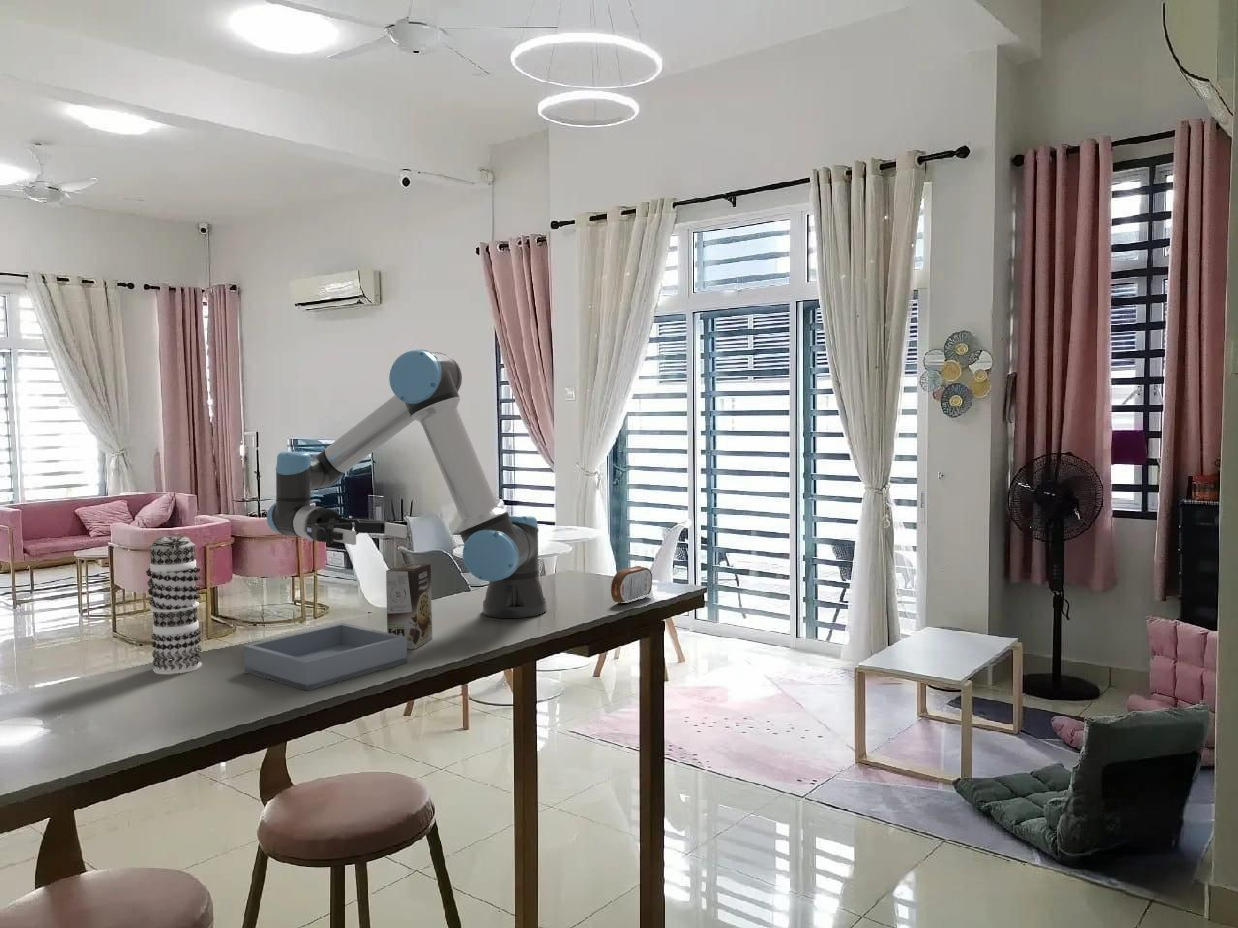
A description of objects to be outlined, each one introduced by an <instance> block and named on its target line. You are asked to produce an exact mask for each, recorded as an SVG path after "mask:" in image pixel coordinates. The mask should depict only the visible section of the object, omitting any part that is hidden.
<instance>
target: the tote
mask: <svg viewBox="0 0 1238 928" xmlns="http://www.w3.org/2000/svg"><path fill="white" fill-rule="evenodd" d="M242 646H243V647H242V648H243V672H244V673H246V672H247V673H246V674H249V675H252V674H253V676H256V677H259V678H262V679H266V678H268V679H267V680H269V679H271V680H270V681H272V680H275V681H278V682H277V683H279V682H281V683H280V684H282V683H284V684H283V685H285V684H287V686H289V687H291V688H292V687H293V688H295V687H296V689H299V690H303V691H304V692H305V691H306V692H308V691H313V690H315V689H318V688H319V689H320V688H323V687H326V686H330V685H333V684H336V682H337V683H340V682H344V681H347V680H351V679H354V678H357V677H361V676H364V675H368V674H371V673H375V672H378V671H381V670H386V669H389V668H392V667H393V668H394V667H396V666H397V667H398V666H401V665H403V664H407V663H408V652H407V651H408V649H407V641H406V637H404V636H400V635H395V634H391V633H387V632H385V631H381V630H376V629H372V628H368V627H367V628H366V627H362V626H357V625H354V624H353V625H352V624H350V623H349V624H348V623H344V622H342V623H341V622H340V623H337V624H333V625H329V626H324V627H319V628H316V629H311V630H307V631H302V632H298V633H294V634H289V635H284V636H280V637H275V638H271V639H267V640H262V641H258V642H254V643H249V644H244V645H242ZM350 678H351V679H350ZM343 680H344V681H343ZM275 681H274V682H275Z"/></svg>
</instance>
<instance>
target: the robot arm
mask: <svg viewBox="0 0 1238 928" xmlns="http://www.w3.org/2000/svg"><path fill="white" fill-rule="evenodd" d="M388 380H389V381H388V382H389V386H390V389H391V391H392V392H393V394H394V395H393V396H392V397H390V398H389V399H388V400H386V401H385V402H384V403H382V405H380V406H379V407H378V408H376V409H375V410H373V411H372V412H371V413H369V414H368V415H367V416H366V417H365V418H363V419H362V420H361V421H360V422H357V423H356V424H355V425H354V426H353V427H351V428H350V429H349V430H347V432H345V433H344V434H342V435H341V436H340V437H338V438H337V439H336V440H335V441H334V442H332V443H330V444H329V446H327V447H326V448H324V450H322V451H320V453H318V454H317V455H316V456H314V457H312V456H311V454H310V453H309V452H307V451H281V452H279V453H278V454H277V456H276V466H275V475H276V476H275V479H276V480H275V482H276V483H275V489H276V491H275V494H276V495H275V496H276V498H275V502H274V503H273V504H272V505H271V506H270V507H269V509H268V511H267V513H266V523H267V525H268V527H269V528H270V529H271V530H272V531H273V532H274V533H278V534H281V535H283V536H289V537H297V538H301V539H308V541H309V542H311V543H313V541H315V542H322V543H325V544H326V545H333V542H335V543H342V544H347V545H350V546H351V545H352V546H353V545H354V546H356V545H357V536H358V535H359V534H382V535H383V534H384V536H391V537H395V538H402V539H407V538H408V525H405V524H400V523H395V521H394V520H391V519H390V518H387V519H386V520H380V519H379V520H378V519H376V520H375V519H362V518H347V517H342V515H341V514H340V513H339V512H338V511H337V510H335V509H331V508H326V507H321V506H314V505H311V490H317V489H319V490H320V489H327V488H330V487H332V486H335V485H337V484H339V483H340V481H341V480H342V478H343V476H344V474H346V473H347V472H348V471H349V470H351V469H352V468H354V467H355V466H357V465H358V464H359V463H361V461H363V460H364V459H365V458H367V457H368V456H369V455H370V454H372V453H374V451H376V450H377V449H379V448H380V447H381V446H383V445H384V444H385V443H386V442H388V441H389V440H391V439H392V438H393V437H395V436H396V435H397V434H399V433H400V432H401V431H402V430H404V429H405V428H406V427H408V426H410V425H411V424H412V423H413V422H415V421H417V422H419V423H420V424H421V427H422V428H423V431H424V434H425V436H426V439H427V441H428V442H429V443H428V444H429V445H430V448H431V450H432V453H433V456H434V457H435V460H436V462H437V464H438V468H439V469H440V471H441V475H442V477H443V479H444V481H445V484H446V486H447V488H448V491H449V494H450V496H451V498H452V501H453V503H454V505H455V507H456V510H457V512H458V515H459V517H460V520H461V524H460V527H459V530H458V533H459V535H460V537H461V540H462V543H463V548H462V559H463V564H464V566H465V568H466V569H467V571H468V572H469V573H470V574H471V575H472V576H473V577H475V578H477V579H478V580H481V581H485V582H488V585H487V588H486V592H485V598H484V600H483V602H482V614H483V615H485V616H487V617H492V618H498V619H523V618H529V617H530V618H531V617H535V616H540V615H542V613H543V614H545V613H546V612H547V607H548V605H547V600H546V598H545V597H544V591H543V588H542V585H541V582H540V577H539V576H540V575H539V526H538V520H537V518H536V517H535V516H531V515H524V516H523V515H518V516H517V515H510V514H509V511H508V510H506V509H503V508H501V507H499V505H498V503H497V501H496V498H495V496H494V494H493V491H492V490H491V487H490V484H489V481H488V479H487V477H486V475H485V472H484V470H483V467H482V465H481V462H480V460H479V458H478V455H477V453H476V451H475V448H474V446H473V444H472V441H471V438H470V437H469V434H468V431H467V429H466V427H465V425H464V422H463V419H462V417H461V415H460V413H459V412H460V411H458V405H459V403H460V401H461V398H460V395H459V391H460V388H461V386H462V382H463V374H462V370H461V368H460V366H459V364H458V362H457V361H456V360H455V359H454V358H453V357H452V356H450V355H448V354H446V353H442V352H435V351H429V350H426V349H416V350H414V349H413V350H409V351H406V352H404V353H402V354H400V355H399V356H398V357H397V358H396V359H395V360H394V361H393V363H392V365H391V368H390V371H389V377H388ZM545 611H546V612H545ZM544 612H545V613H544ZM539 614H540V615H539Z"/></svg>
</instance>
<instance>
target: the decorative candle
mask: <svg viewBox="0 0 1238 928" xmlns="http://www.w3.org/2000/svg"><path fill="white" fill-rule="evenodd" d="M196 545H197V544H196V543H194V542H192V540H191V539H190V538H189V537H188V536H183V535H181V536H180V535H178V536H177V535H175V536H173V535H172V536H163V537H158V538H156V539H155V540H154V541H153V543H152V545H151V546H148V547H147V548H148V549H150V550H149V551H150V554H149V555H150V563H149V568H148V569H147V570H146V571H145V574H146V576H147V577H150V578H149V579H148V581H147V582H146V584H147V585H148V587H149V589H147V592H148V595H149V596H151V597H150V599H149V601H148V602H149V605H150V606H151V607H150V608H149V611H152V613H153V616H152V619H153V620H152V621H153V624H152V634H151V639H152V640H154V641H153V642H152V643H151V646H152V648H154V650H153V651H152V652H151V655H152V658H153V660H152V665H153V667H154V668H153V669H152V671H154V672H155V673H154V672H153V673H154V674H156V675H174V674H173V673H177V674H176V675H178V673H180V674H185V673H190V672H193V671H196V670H198V669H201V667H202V666H203V663H202V662H201V660H202V659H203V656H202V653H201V652H202V650H203V649H202V646H201V645H199V643H200V642H201V641H202V637H200V636H199V635H200V634H201V633H202V632H201V631H202V630H201V629H200V628H199V627H200V623H199V620H198V607H199V606H200V602H199V601H197V600H198V599H200V598H201V595H200V594H198V593H197V592H198V591H200V589H201V587H200V586H199V585H197V584H196V582H198V581H199V580H201V576H200V575H198V574H197V573H199V572H201V568H200V567H198V566H197V560H196V557H195V556H196V553H195V546H196ZM175 658H176V659H175ZM170 659H172V660H170Z"/></svg>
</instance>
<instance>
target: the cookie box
mask: <svg viewBox="0 0 1238 928" xmlns="http://www.w3.org/2000/svg"><path fill="white" fill-rule="evenodd" d="M431 566H432V565H431V563H412V564H411V563H410V564H409V563H403V564H400V565H398V566H395V567H392V568H389V569H387V570H385V579H386V581H385V583H386V584H385V586H386V587H385V589H386V592H385V593H386V631H387V632H386V633H391V634H395V635H400V636H404V637H406V641H407V650H416V649H418V648H419V647H421V646H422V645H424V644H426V643H427V642H429V641H431V640H432V639H433V613H432V612H433V610H432V607H433V606H432V576H431V575H432V574H431V572H432V571H431V570H432V569H431V568H432V567H431Z"/></svg>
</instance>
